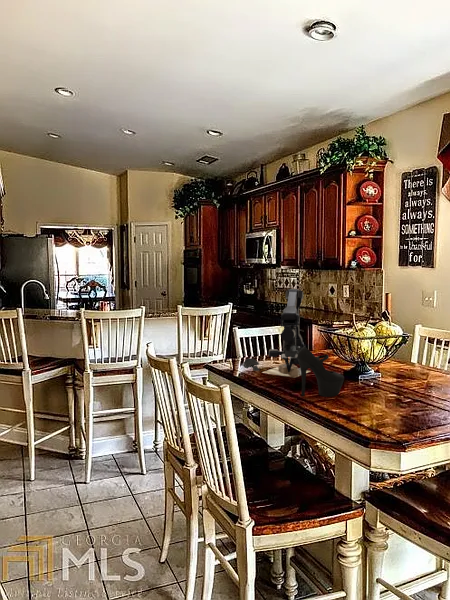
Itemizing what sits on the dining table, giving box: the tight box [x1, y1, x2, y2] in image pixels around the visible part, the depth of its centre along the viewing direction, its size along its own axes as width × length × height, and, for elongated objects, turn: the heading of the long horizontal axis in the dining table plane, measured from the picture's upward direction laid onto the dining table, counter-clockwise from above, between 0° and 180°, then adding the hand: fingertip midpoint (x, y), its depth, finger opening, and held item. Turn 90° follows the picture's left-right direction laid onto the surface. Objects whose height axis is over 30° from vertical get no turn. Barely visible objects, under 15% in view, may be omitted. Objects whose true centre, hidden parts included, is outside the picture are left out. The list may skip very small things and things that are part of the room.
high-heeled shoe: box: [297, 346, 345, 398], centre depth 203 cm, size 8×19×20 cm, turn 94°
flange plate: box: [277, 363, 299, 378], centre depth 236 cm, size 14×7×3 cm, turn 13°
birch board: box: [261, 366, 312, 379], centre depth 240 cm, size 16×18×1 cm
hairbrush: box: [243, 357, 261, 372], centre depth 252 cm, size 8×4×25 cm
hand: (288, 372), depth 232 cm, fingers closed
